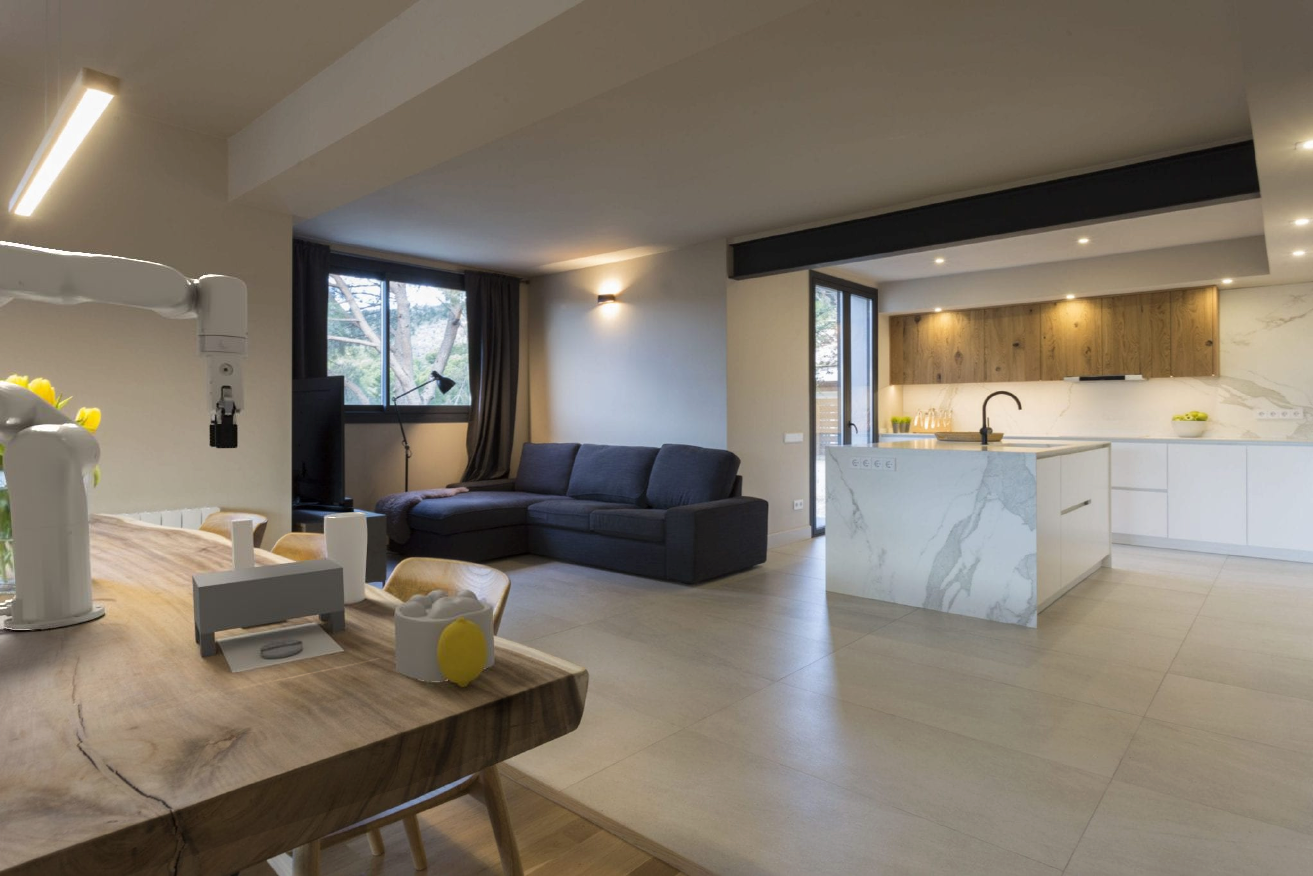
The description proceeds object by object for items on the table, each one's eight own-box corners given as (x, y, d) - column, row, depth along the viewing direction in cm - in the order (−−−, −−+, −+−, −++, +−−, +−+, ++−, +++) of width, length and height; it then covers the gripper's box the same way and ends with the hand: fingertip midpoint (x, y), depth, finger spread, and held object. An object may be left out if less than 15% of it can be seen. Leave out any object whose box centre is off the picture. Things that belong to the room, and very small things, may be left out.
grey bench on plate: (201, 658, 97) (198, 587, 96) (195, 641, 105) (192, 575, 105) (345, 631, 107) (342, 567, 107) (329, 617, 115) (327, 557, 115)
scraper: (241, 629, 110) (237, 535, 110) (223, 601, 129) (220, 520, 128) (285, 621, 114) (281, 530, 114) (262, 595, 132) (258, 517, 132)
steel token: (267, 662, 94) (266, 654, 94) (255, 654, 98) (255, 646, 97) (308, 652, 97) (307, 644, 97) (295, 644, 101) (295, 637, 101)
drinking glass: (326, 600, 127) (323, 514, 127) (368, 595, 130) (365, 511, 130) (327, 608, 121) (323, 518, 121) (371, 603, 124) (367, 515, 124)
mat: (232, 674, 90) (232, 672, 90) (217, 640, 105) (216, 639, 105) (344, 652, 98) (344, 650, 98) (315, 623, 112) (315, 622, 112)
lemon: (492, 677, 87) (490, 610, 86) (482, 695, 81) (480, 623, 81) (445, 679, 86) (442, 612, 86) (432, 697, 81) (429, 625, 81)
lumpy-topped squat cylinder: (431, 687, 84) (428, 612, 84) (377, 663, 93) (374, 596, 93) (505, 663, 92) (503, 594, 92) (449, 643, 101) (447, 581, 100)
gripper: (254, 345, 122) (255, 448, 122) (240, 353, 136) (241, 446, 136) (201, 342, 118) (202, 449, 118) (193, 351, 131) (193, 446, 132)
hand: (223, 447), depth 127 cm, fingers open, 9 cm apart
